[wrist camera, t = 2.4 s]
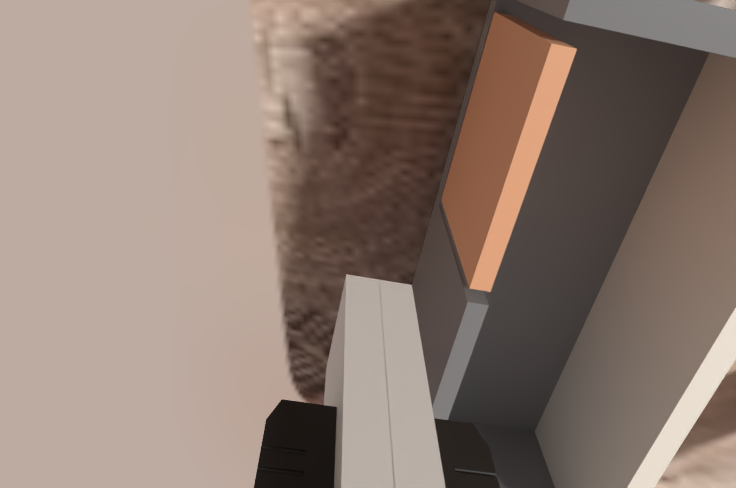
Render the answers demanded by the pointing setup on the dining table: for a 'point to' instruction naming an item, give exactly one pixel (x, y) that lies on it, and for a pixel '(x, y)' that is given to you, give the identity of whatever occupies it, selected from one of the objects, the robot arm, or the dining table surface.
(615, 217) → the storage box
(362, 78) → the dining table surface
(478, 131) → the box door
